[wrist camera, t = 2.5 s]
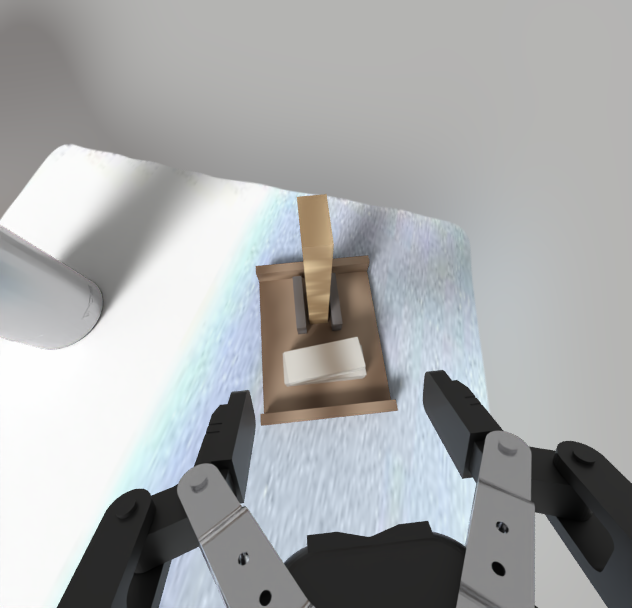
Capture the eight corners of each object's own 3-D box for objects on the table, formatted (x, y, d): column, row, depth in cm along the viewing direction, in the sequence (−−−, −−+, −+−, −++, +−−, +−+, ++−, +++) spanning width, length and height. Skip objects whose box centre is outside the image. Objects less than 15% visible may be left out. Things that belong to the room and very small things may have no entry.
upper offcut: (291, 385, 29) (289, 382, 26) (286, 357, 30) (283, 352, 27) (361, 370, 29) (365, 366, 27) (354, 343, 30) (357, 336, 28)
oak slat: (309, 324, 34) (301, 247, 19) (306, 292, 35) (296, 196, 20) (327, 322, 34) (333, 244, 19) (323, 290, 35) (326, 194, 20)
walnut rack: (266, 425, 31) (260, 425, 28) (260, 277, 37) (255, 264, 34) (390, 411, 31) (398, 410, 28) (364, 267, 37) (368, 253, 34)
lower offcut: (287, 386, 31) (284, 383, 29) (285, 358, 32) (282, 353, 30) (362, 378, 31) (366, 375, 29) (358, 350, 32) (361, 345, 30)
